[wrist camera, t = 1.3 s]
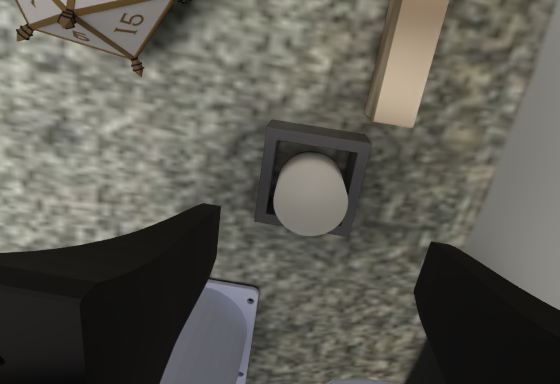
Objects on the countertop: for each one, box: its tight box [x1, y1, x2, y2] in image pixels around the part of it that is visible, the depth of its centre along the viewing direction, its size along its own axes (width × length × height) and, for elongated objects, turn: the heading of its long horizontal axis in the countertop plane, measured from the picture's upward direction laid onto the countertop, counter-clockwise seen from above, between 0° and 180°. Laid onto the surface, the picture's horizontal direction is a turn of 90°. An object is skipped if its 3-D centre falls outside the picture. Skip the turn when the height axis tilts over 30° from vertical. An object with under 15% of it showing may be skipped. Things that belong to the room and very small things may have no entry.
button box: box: [255, 120, 372, 237], centre depth 21 cm, size 6×6×2 cm
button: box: [273, 152, 348, 236], centre depth 18 cm, size 4×4×3 cm
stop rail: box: [364, 0, 449, 128], centre depth 17 cm, size 10×2×3 cm, turn 172°
